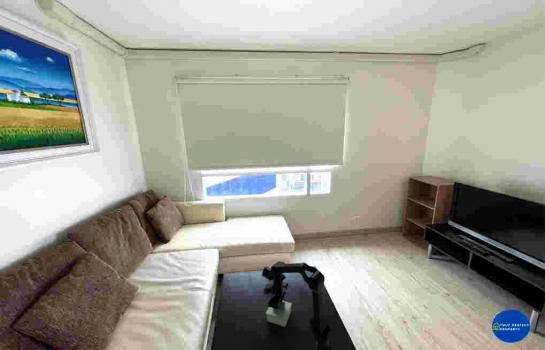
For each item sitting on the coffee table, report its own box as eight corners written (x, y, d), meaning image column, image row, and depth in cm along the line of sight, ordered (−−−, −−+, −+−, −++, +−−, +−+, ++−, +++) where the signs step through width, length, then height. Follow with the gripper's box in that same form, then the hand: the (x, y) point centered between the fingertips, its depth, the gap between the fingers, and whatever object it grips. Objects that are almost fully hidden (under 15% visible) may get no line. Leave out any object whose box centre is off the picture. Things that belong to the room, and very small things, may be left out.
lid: (285, 322, 119) (285, 313, 118) (265, 315, 123) (265, 307, 122) (291, 305, 130) (291, 297, 128) (273, 300, 134) (273, 292, 133)
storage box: (285, 327, 120) (284, 319, 119) (267, 321, 124) (266, 313, 123) (290, 311, 130) (290, 304, 129) (274, 306, 134) (274, 300, 133)
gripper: (271, 270, 134) (272, 292, 137) (258, 291, 117) (259, 315, 121) (288, 274, 130) (288, 296, 133) (277, 296, 113) (278, 321, 116)
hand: (279, 306), depth 126 cm, fingers closed on lid, 2 cm apart
